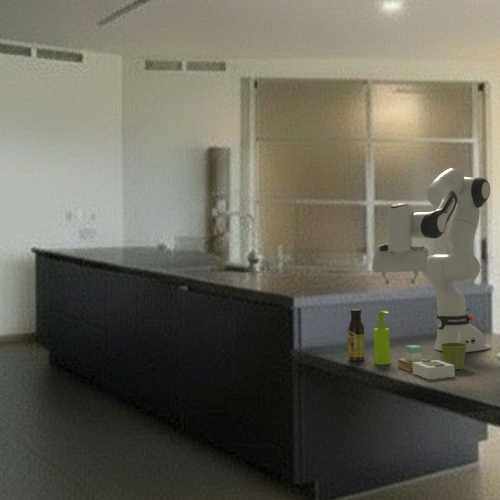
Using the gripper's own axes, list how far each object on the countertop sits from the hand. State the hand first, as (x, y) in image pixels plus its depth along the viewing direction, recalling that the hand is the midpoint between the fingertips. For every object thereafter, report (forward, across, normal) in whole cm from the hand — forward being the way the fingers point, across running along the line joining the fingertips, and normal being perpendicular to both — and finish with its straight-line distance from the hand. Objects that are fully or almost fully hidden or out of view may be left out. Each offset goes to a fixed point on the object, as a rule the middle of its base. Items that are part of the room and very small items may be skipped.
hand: (399, 283), depth 282 cm
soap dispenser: (+30, +6, -2) cm, 31 cm away
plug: (+30, -4, +7) cm, 31 cm away
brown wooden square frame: (+30, -4, +7) cm, 31 cm away
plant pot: (+30, -18, +9) cm, 36 cm away
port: (+30, -10, +20) cm, 38 cm away
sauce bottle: (+30, +16, -10) cm, 36 cm away
